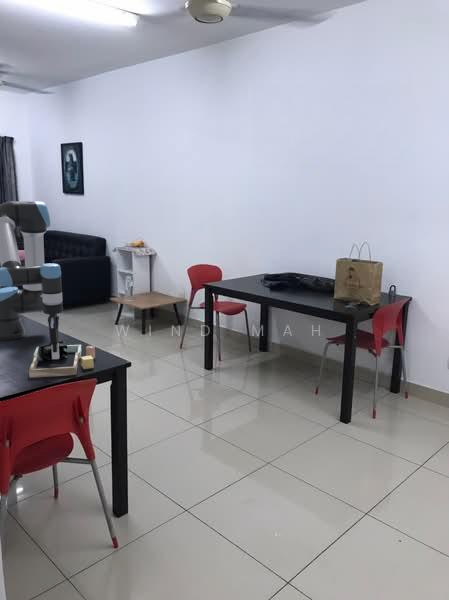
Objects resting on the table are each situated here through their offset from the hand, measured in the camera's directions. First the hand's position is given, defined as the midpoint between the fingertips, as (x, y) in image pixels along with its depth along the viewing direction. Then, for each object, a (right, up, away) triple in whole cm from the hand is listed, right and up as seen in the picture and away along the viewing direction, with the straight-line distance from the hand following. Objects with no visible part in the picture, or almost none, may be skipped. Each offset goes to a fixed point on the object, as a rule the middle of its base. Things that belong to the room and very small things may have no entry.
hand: (55, 358), depth 194 cm
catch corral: (-2, 0, +10) cm, 10 cm away
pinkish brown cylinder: (+12, -1, +9) cm, 15 cm away
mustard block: (+13, -3, -1) cm, 14 cm away
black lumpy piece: (-3, -1, +7) cm, 8 cm away
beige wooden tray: (+1, -3, -3) cm, 5 cm away
